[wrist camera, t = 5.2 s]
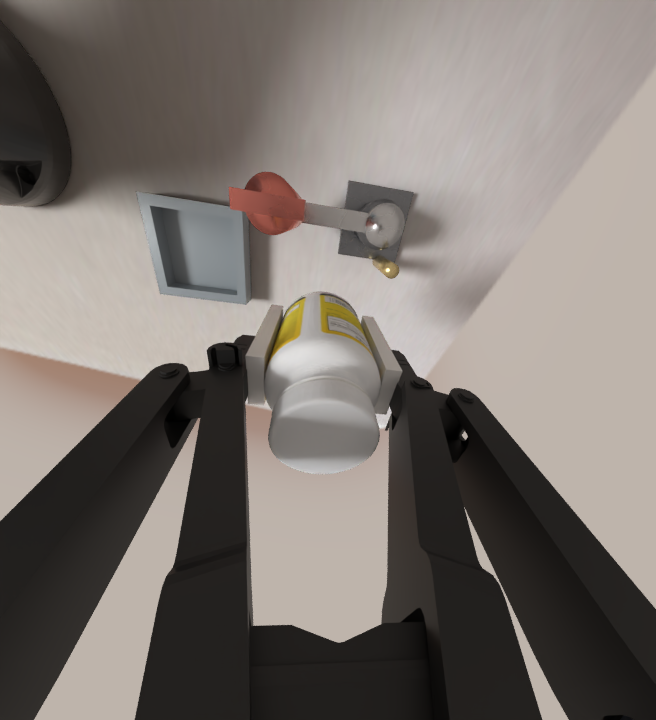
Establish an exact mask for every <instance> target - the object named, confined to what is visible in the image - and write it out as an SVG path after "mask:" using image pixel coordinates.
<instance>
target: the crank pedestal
mask: <svg viewBox="0 0 656 720" xmlns="http://www.w3.org/2000/svg"><path fill="white" fill-rule="evenodd" d="M413 193H414V192H408V191H403V190H397V189H392V188H386V187H381V186H375V185H370V184H365V183H359V182H354V181H349V182H348V189H347V196H346V202H345V209H347V210H353V211H359V212H365V213H368V212H369V211H370V210H371V209H372V208H373V207H375V206H377V205H379V204H383V203H392V204H395V205H397V206H398V207H399V208H400V209H401V210H402V212H403V214H404V218H405V223H406V219H407V215H408V211H409V208H410V204H411V200H412V197H413ZM402 234H403V233H402ZM401 237H402V235H401ZM401 237H400V238H399V240H398V241H397V242H396V243H395V244H393V245H391V246H389V247H385V248H380V247H377V246H375V245H373V244H371V243H370V242H369V241H368V240H367V239H366V237H365V235H364V233H363V232H356V231H350V230H344V229H341V236H340V243H339V249H338V254H342V255H349V256H356V257H362V258H369V259H373V265H374V266H375V267H376V268H377V269H378V270H380V271H381V272H382V273H383V274H384V275H385V276H386V277H388V278H390V279H392V278H395V277H396V276H397V275H398V273H399V267H398V266H397V265H396V264H394V263H393V262H395V259H396V256H397V252H398V248H399V245H400V241H401Z"/></svg>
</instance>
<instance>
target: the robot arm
mask: <svg viewBox="0 0 656 720" xmlns="http://www.w3.org/2000/svg"><path fill="white" fill-rule="evenodd" d="M70 167H71V152H70V144H69V139H68V134H67V130H66V127H65V124H64V120H63V118H62V115H61V112H60V110H59V107H58V105H57V103H56V101H55V98H54V96H53V94H52V92H51V90H50V88H49V87H48V85H47V83H46V81H45V79H44V78H43V76H42V74H41V73H40V71H39V70H38V68H37V66H36V65H35V64H34V62H33V61H32V59H31V58H30V56H29V55H28V54H27V52H26V51H25V49H24V48H23V47H22V46H21V44H20V43H19V42H18V41H17V39H16V38H15V37H14V36H13V35H12V33H11V32H10V31H9V30H8V29H7V28H6V27H5V26H4V24H3V23H2V22H1V21H0V205H7V206H39V205H43V204H46V203H48V202H50V201H52V200H54V199H55V198H56V197H57V196H58V195H59V194H60V193H61V192H62V191H63V189H64V188H65V186H66V183H67V181H68V178H69V174H70ZM282 320H283V306H278V305H271V307H270V309H269V311H268V313H267V315H266V317H265V319H264V321H263V323H262V324H261V326H260V328H259V330H258V332H257V334H256V336H249V335H242V336H240V337H238V338H237V339H236V340H235V342H234V343H226V342H225V343H218V344H214V345H212V346H211V347H209V348H208V350H207V355H208V361H209V370H206V371H198V372H189V371H188V368H187V366H185V365H183V364H179V363H168V364H164V365H161V366H158V367H156V368H154V369H153V370H152V371H150V372H149V373H148V374H147V375H146V376H145V377H144V378H143V379H142V380H141V381H140V382H139V383H138V384H137V385H136V386H135V387H134V388H133V390H132V391H130V392H129V393H128V395H126V397H124V398H123V399H122V400H121V401H120V402H119V403H118V404H117V405H116V407H114V409H112V410H111V411H110V412H109V413H108V414H107V415H106V416H105V417H104V418H103V419H102V420H101V421H100V422H99V424H97V425H96V426H95V428H93V429H92V430H91V431H90V432H89V433H88V434H87V435H86V436H85V437H84V438H83V439H82V440H81V441H80V443H78V444H77V445H76V446H75V447H74V448H73V449H72V450H71V451H70V452H69V453H68V454H67V455H66V456H65V457H64V458H63V459H62V460H61V461H60V462H59V463H58V464H57V465H56V466H55V467H54V468H53V469H52V470H51V471H50V472H49V473H48V474H47V475H46V476H45V477H44V478H43V479H42V480H41V481H40V482H39V483H38V484H37V485H36V486H35V487H34V488H33V489H32V490H31V491H30V492H29V493H28V494H27V495H26V496H25V497H24V498H23V499H22V500H21V501H20V502H19V503H18V504H17V505H16V506H15V507H14V508H13V509H12V510H11V511H10V512H9V513H8V514H7V515H6V516H5V517H4V518H3V519H2V520H1V521H0V720H34V719H35V717H36V715H37V713H38V711H39V710H40V708H41V706H42V705H43V703H44V701H45V699H46V698H47V696H48V694H49V693H50V691H51V689H52V687H53V685H54V684H55V682H56V680H57V678H58V677H59V675H60V673H61V671H62V669H63V668H64V665H65V664H66V662H67V660H68V658H69V657H70V655H71V653H72V651H73V649H74V647H75V645H76V644H77V642H78V640H79V638H80V636H81V634H82V632H83V631H84V629H85V627H86V625H87V623H88V621H89V619H90V618H91V616H92V614H93V612H94V610H95V608H96V606H97V605H98V603H99V601H100V599H101V597H102V595H103V593H104V592H105V590H106V588H107V586H108V584H109V582H110V580H111V579H112V577H113V575H114V573H115V571H116V569H117V568H118V566H119V564H120V562H121V560H122V558H123V556H124V555H125V553H126V551H127V549H128V547H129V545H130V543H131V542H132V540H133V538H134V536H135V534H136V532H137V530H138V529H139V527H140V525H141V523H142V521H143V519H144V517H145V516H146V514H147V512H148V510H149V508H150V506H151V505H152V503H153V501H154V499H155V497H156V495H157V493H158V492H159V490H160V488H161V486H162V484H163V482H164V480H165V479H166V477H167V475H168V473H169V471H170V469H171V467H172V466H173V464H174V462H175V460H176V458H177V456H178V454H179V452H180V451H181V449H182V447H183V445H184V443H185V442H186V440H187V438H188V436H189V434H190V432H191V430H192V429H193V427H194V425H195V423H196V421H197V419H198V418H201V419H200V424H199V430H198V436H197V441H196V447H195V453H194V458H193V463H192V469H191V475H190V481H189V486H188V492H187V497H186V503H185V509H184V514H183V520H182V526H181V531H180V537H179V543H178V548H177V554H176V558H175V563H174V565H173V568H172V570H171V571H170V572H169V573H168V575H167V576H166V578H165V581H164V584H163V587H162V590H161V594H160V598H159V602H158V607H157V612H156V617H155V622H154V627H153V632H152V637H151V642H150V647H149V652H148V657H147V661H146V666H145V672H144V676H143V681H142V686H141V692H140V697H139V702H138V707H137V711H136V717H135V720H542V717H541V714H540V711H539V708H538V704H537V701H536V698H535V695H534V691H533V688H532V685H531V682H530V678H529V675H528V672H527V669H526V665H525V662H524V659H523V655H522V652H521V649H520V646H519V642H518V639H517V636H516V633H515V629H514V626H513V624H512V620H511V616H510V613H509V610H508V607H507V603H506V600H505V597H504V595H503V592H502V590H501V588H500V585H499V583H498V582H497V581H496V579H495V578H494V576H493V575H492V574H490V573H489V572H487V571H486V570H484V569H483V568H482V567H481V565H480V564H479V561H478V558H477V555H476V551H475V547H474V543H473V540H472V536H471V532H470V528H469V525H468V520H467V517H466V513H465V509H466V511H467V513H468V516H469V518H470V520H471V522H472V524H473V526H474V528H475V530H476V532H477V534H478V536H479V539H480V541H481V543H482V545H483V547H484V549H485V551H486V553H487V556H488V558H489V560H490V562H491V564H492V566H493V568H494V570H495V573H496V575H497V577H498V579H499V581H500V583H501V585H502V587H503V589H504V591H505V593H506V596H507V598H508V600H509V602H510V604H511V606H512V608H513V611H514V613H515V615H516V617H517V619H518V621H519V623H520V625H521V627H522V630H523V632H524V634H525V636H526V638H527V640H528V642H529V644H530V647H531V649H532V651H533V653H534V655H535V657H536V659H537V661H538V663H539V665H540V667H541V669H542V671H543V673H544V675H545V677H546V679H547V681H548V683H549V685H550V687H551V689H552V690H553V692H554V694H555V696H556V698H557V700H558V701H559V703H560V705H561V706H562V708H563V710H564V712H565V713H566V715H567V717H568V719H569V720H656V609H655V608H654V607H653V605H652V604H651V603H650V602H649V601H648V599H647V598H646V597H645V596H644V595H643V594H642V592H641V591H640V590H639V589H638V588H637V586H636V585H635V584H634V583H633V582H632V580H631V579H630V578H629V577H628V576H627V574H626V573H625V572H624V571H623V570H622V568H621V567H620V566H619V565H618V564H617V562H616V561H615V560H614V559H613V558H612V557H611V556H610V554H609V553H608V552H607V551H606V549H605V548H604V547H603V546H602V545H601V543H600V542H599V541H598V540H597V539H596V537H595V536H594V535H593V534H592V533H591V531H590V530H589V529H588V528H587V527H586V525H585V524H584V523H583V522H582V521H581V519H580V518H579V517H578V516H577V515H576V514H575V512H574V511H573V510H572V509H571V508H570V506H569V505H568V504H567V503H566V502H565V500H564V499H563V498H562V497H561V496H560V494H559V493H558V492H557V491H556V490H555V489H554V487H553V486H552V485H551V484H550V482H549V481H548V480H547V479H546V478H545V477H544V475H543V474H542V473H541V472H540V471H539V470H538V468H537V467H536V466H535V465H534V463H533V462H532V461H531V460H530V459H529V457H528V456H527V455H526V454H525V453H524V452H523V450H522V449H521V448H520V447H519V445H518V444H517V443H516V442H515V441H514V439H513V438H512V437H511V436H510V435H509V434H508V432H507V431H506V430H505V429H504V428H503V426H502V425H501V424H500V423H499V422H498V420H497V419H496V418H495V417H494V416H493V414H492V413H491V412H490V411H489V410H488V409H487V407H486V406H485V405H484V404H483V403H482V402H481V400H480V399H479V398H478V397H477V396H476V395H474V394H473V393H471V392H470V391H467V390H465V389H460V388H454V389H452V390H451V391H450V393H449V395H447V394H443V393H440V392H437V391H434V390H433V387H432V385H431V384H430V383H429V382H428V381H427V380H425V379H423V378H420V377H417V375H416V374H415V372H414V371H413V369H412V367H411V366H410V364H409V363H408V362H407V359H406V358H405V356H404V355H403V354H402V353H400V352H399V351H395V350H391V349H390V347H389V345H388V343H387V342H386V340H385V338H384V336H383V334H382V332H381V331H380V329H379V327H378V325H377V323H376V321H375V320H374V318H373V317H368V316H362V320H361V326H362V329H363V331H364V334H365V337H366V339H367V342H368V344H369V347H370V349H371V352H372V354H373V357H374V359H375V361H376V364H377V367H378V371H379V375H380V381H381V389H380V395H379V398H378V401H377V403H376V405H375V407H374V411H375V414H387V411H388V408H389V406H390V408H391V411H392V413H391V416H390V418H389V421H388V423H387V426H386V429H385V430H388V428H389V483H388V485H389V486H388V487H389V488H388V493H389V494H388V572H387V588H386V593H385V597H384V601H383V609H382V624H381V625H379V626H377V627H374V628H372V629H370V630H368V631H366V632H364V633H362V634H360V635H358V636H355V637H353V638H351V639H349V640H347V641H345V642H341V643H337V642H334V641H331V640H329V639H326V638H323V637H321V636H318V635H316V634H313V633H311V632H308V631H305V630H303V629H300V628H298V627H295V626H292V625H272V626H253V608H252V590H251V588H252V587H251V559H250V529H249V499H248V471H247V441H246V440H247V439H246V409H245V401H246V399H247V396H248V404H256V405H264V404H265V400H266V397H265V392H264V379H265V373H266V369H267V366H268V363H269V360H270V357H271V354H272V351H273V348H274V345H275V342H276V339H277V336H278V332H279V329H280V326H281V323H282ZM464 431H465V432H466V433H467V435H468V438H467V439H466V440H465V439H464V438H463V437H462V434H463V432H464ZM464 507H465V509H464Z"/></svg>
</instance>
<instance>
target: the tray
mask: <svg viewBox="0 0 656 720" xmlns="http://www.w3.org/2000/svg"><path fill="white" fill-rule="evenodd" d="M136 194H137V198H138V202H139V206H140V211H141V215H142V219H143V223H144V227H145V232H146V236H147V240H148V244H149V249H150V253H151V257H152V261H153V265H154V270H155V274H156V278H157V282H158V287H159V291H160V294H164V295H172V296H180V297H188V298H196V299H205V300H213V301H221V302H229V303H237V304H245V305H246V304H247V303H248V302H249V301H250V300H251V271H250V240H249V219H248V217H247V215H246V212H244V211H238V210H231V209H230V206H224V205H218V204H212V203H205V202H199V201H193V200H187V199H181V198H175V197H169V196H163V195H157V194H150V193H143V192H137V191H136Z"/></svg>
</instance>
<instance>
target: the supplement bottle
mask: <svg viewBox="0 0 656 720" xmlns="http://www.w3.org/2000/svg"><path fill="white" fill-rule="evenodd" d="M380 389H381V381H380V375H379V371H378V367H377V364H376V361H375V359H374V357H373V354H372V352H371V349H370V347H369V344H368V342H367V339H366V337H365V334H364V331H363V329H362V326H361V324H360V322H359V319H358V317H357V314H356V312H355V311H354V309H353V308H352V306H351V305H350V304H349V303H348V302H347V301H346V300H344V299H343V298H341V297H339V296H338V295H335V294H332V293H328V292H313V293H309V294H306V295H303V296H301V297H300V298H298V299H297V300H295V301H294V302H293V303H292V304H291V305H290V306H289V308H288V309H287V311H286V313H285V315H284V317H283V320H282V323H281V326H280V329H279V332H278V336H277V339H276V342H275V345H274V348H273V351H272V354H271V357H270V360H269V363H268V366H267V369H266V373H265V379H264V392H265V397H266V400H267V402H268V405H269V406H270V408H271V410H272V418H271V424H270V428H269V435H268V436H269V437H268V440H269V445H270V448H271V450H272V452H273V454H274V455H275V456H276V457H277V458H278V459H279V460H280V461H281V462H282V463H284V464H285V465H287V466H289V467H291V468H293V469H295V470H298V471H302V472H306V473H313V474H332V473H338V472H343V471H346V470H349V469H351V468H354V467H356V466H358V465H360V464H361V463H363V462H364V461H365V460H367V459H368V458H369V457H370V456H371V455H372V454H373V452H374V451H375V449H376V447H377V445H378V442H379V437H380V433H379V426H378V423H377V419H376V415H375V411H374V407H375V405H376V403H377V401H378V398H379V395H380Z"/></svg>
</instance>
